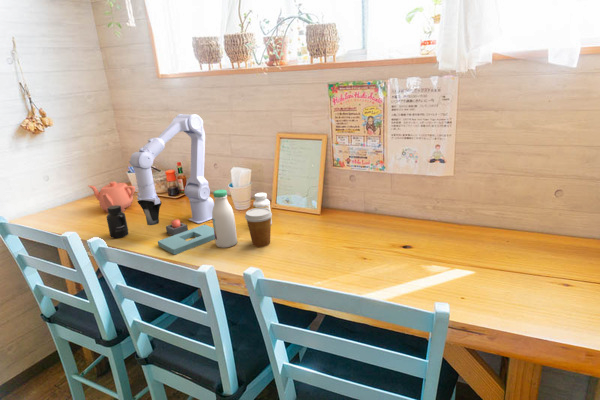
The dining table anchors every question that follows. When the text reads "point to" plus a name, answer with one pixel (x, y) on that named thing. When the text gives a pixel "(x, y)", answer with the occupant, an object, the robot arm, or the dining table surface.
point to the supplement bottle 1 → (117, 222)
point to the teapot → (114, 195)
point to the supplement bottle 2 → (261, 201)
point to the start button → (175, 223)
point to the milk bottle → (223, 220)
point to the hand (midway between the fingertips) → (152, 218)
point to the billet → (149, 219)
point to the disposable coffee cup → (259, 226)
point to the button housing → (176, 229)
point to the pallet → (179, 242)
